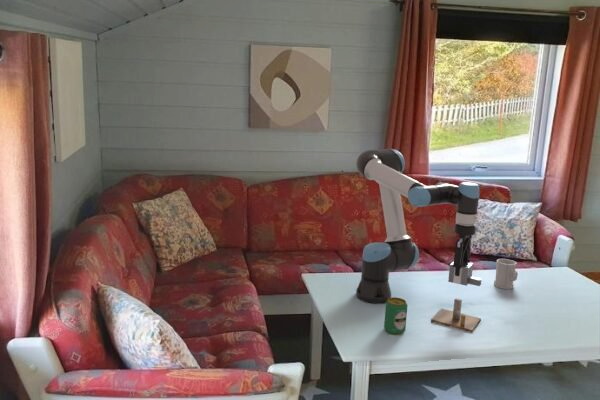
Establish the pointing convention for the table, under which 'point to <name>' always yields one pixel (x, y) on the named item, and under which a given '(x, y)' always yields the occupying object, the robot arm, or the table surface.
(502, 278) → the cup
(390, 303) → the beverage can
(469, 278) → the grey hollow square block
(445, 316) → the post base
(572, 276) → the table surface
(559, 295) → the table surface
